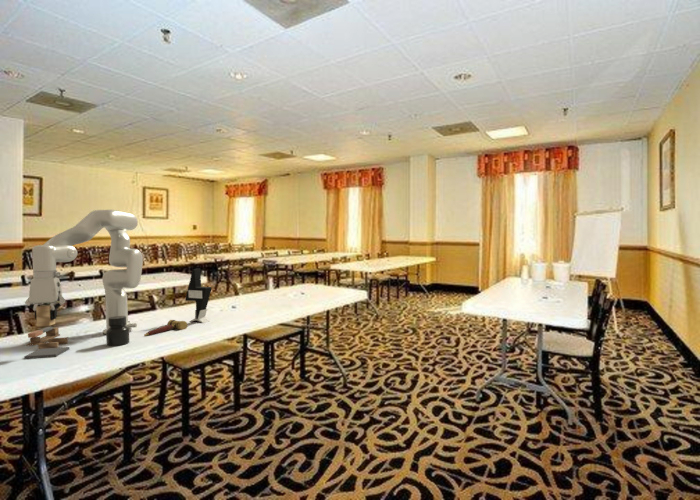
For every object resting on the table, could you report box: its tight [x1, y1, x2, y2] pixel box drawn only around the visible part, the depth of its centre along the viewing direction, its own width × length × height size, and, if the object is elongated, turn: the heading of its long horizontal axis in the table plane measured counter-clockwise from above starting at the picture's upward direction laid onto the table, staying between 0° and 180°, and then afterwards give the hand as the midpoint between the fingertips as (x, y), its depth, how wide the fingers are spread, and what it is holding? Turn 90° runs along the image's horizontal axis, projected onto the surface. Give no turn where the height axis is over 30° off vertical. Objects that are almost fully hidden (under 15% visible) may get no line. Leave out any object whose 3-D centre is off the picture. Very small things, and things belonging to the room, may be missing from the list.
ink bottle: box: [105, 316, 130, 347], centre depth 176 cm, size 10×9×12 cm
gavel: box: [143, 319, 188, 337], centre depth 198 cm, size 21×5×10 cm
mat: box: [23, 346, 70, 360], centre depth 161 cm, size 11×11×1 cm
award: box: [184, 268, 212, 324], centre depth 221 cm, size 15×5×30 cm, turn 68°
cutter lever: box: [27, 326, 54, 339], centre depth 181 cm, size 3×15×2 cm, turn 12°
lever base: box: [25, 326, 61, 347], centre depth 183 cm, size 5×18×4 cm, turn 12°
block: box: [36, 304, 56, 327], centre depth 160 cm, size 4×4×8 cm
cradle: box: [37, 337, 69, 350], centre depth 173 cm, size 7×10×2 cm
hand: (46, 319), depth 160 cm, fingers closed on block, 4 cm apart
